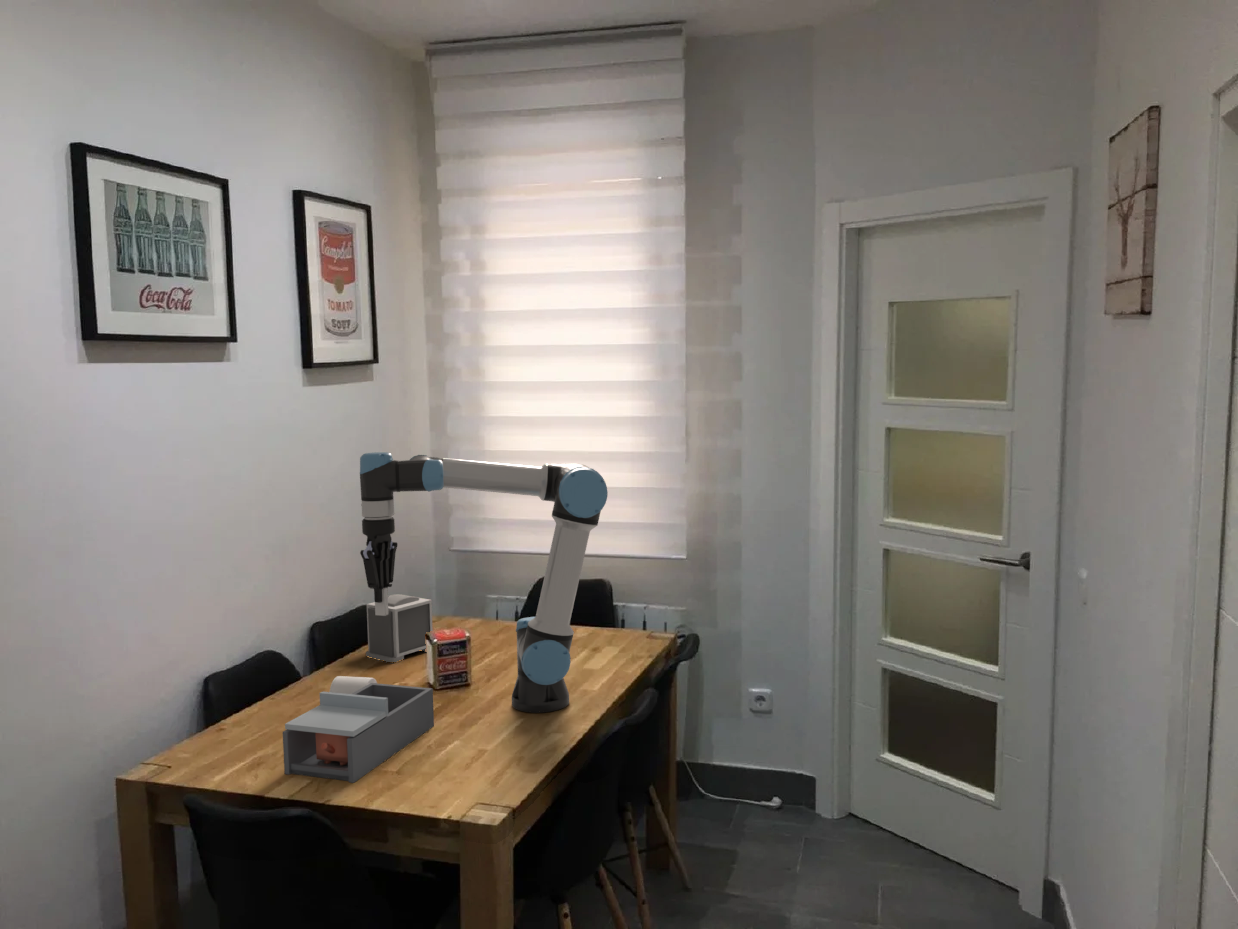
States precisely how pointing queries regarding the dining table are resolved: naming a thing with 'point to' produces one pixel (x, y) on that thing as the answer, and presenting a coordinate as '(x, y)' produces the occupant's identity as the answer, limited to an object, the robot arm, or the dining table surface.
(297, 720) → the lid
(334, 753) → the pink cube teapot
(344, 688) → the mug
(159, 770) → the dining table surface
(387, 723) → the housing
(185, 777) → the dining table surface
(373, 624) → the grey panelled box
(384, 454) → the robot arm
